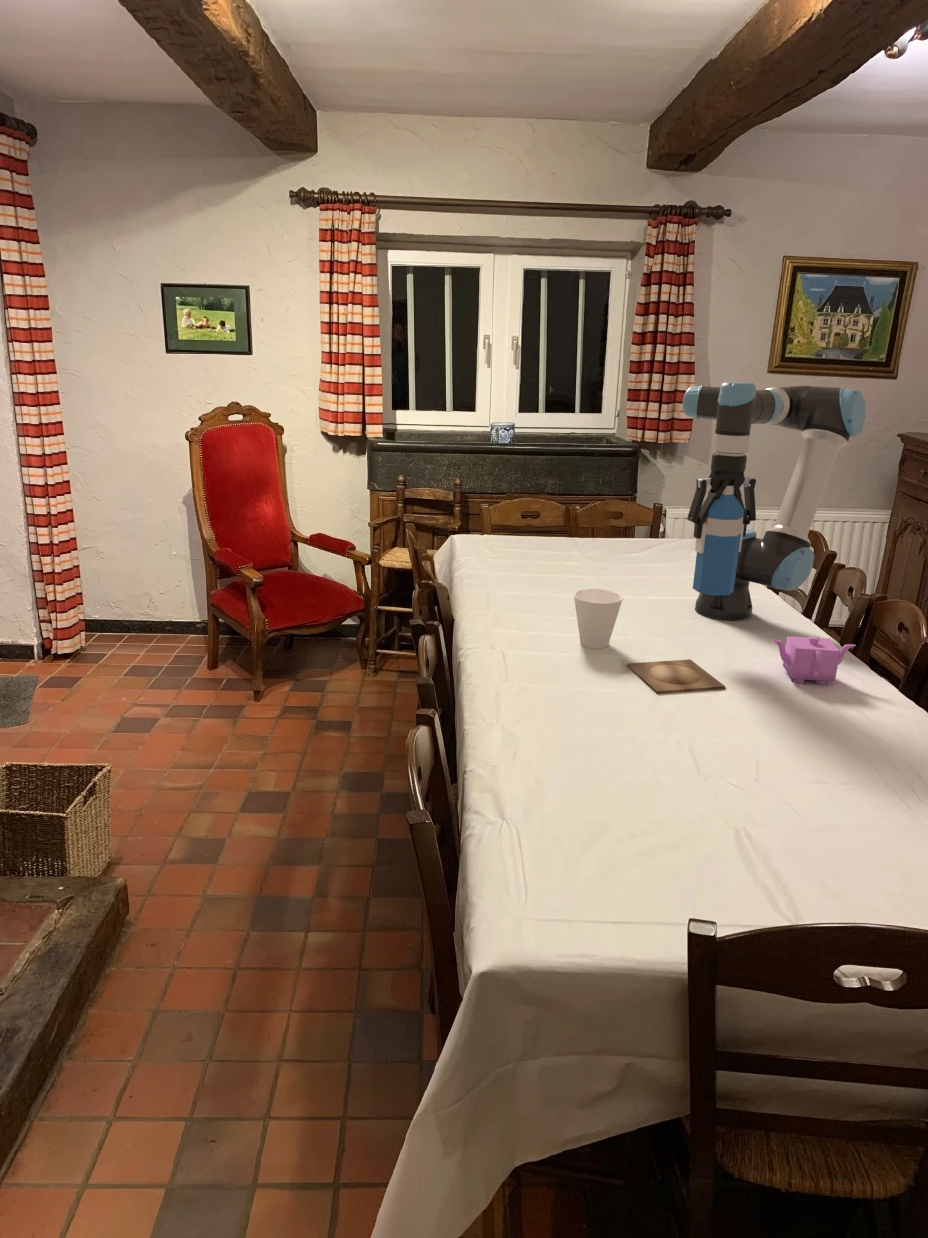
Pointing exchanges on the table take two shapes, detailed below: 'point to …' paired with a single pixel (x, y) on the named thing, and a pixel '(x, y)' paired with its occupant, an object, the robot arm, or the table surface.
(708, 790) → the table surface
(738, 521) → the water bottle
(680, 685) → the plate
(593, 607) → the cup
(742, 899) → the table surface
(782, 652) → the teapot
